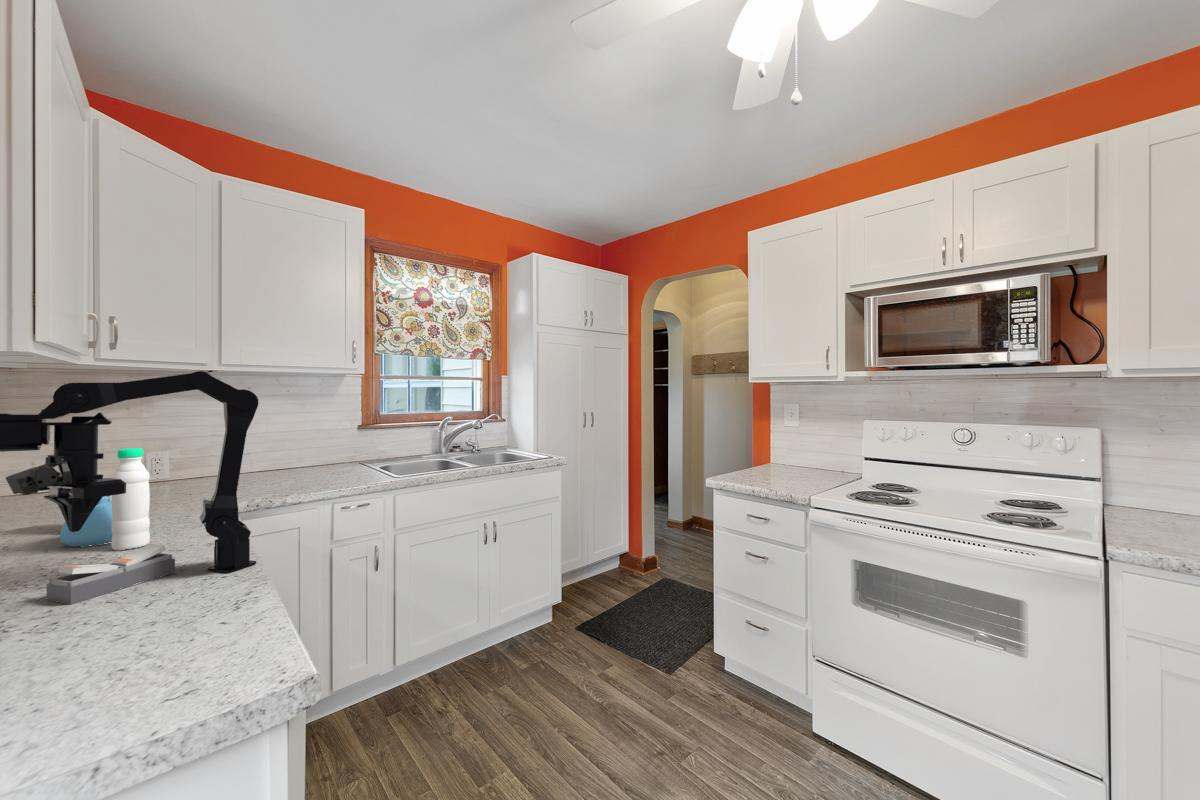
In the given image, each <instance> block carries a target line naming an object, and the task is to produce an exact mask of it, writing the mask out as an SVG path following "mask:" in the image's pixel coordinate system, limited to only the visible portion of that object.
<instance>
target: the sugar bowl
mask: <svg viewBox="0 0 1200 800" xmlns="http://www.w3.org/2000/svg"><path fill="white" fill-rule="evenodd" d="M108 500H109V497H108V496H103V497H102V498H101V500H100V501H99V503H98V504H97V505H96V507H95V508H94V509H93V511H92V512H91V514H90V515H89V517H88V518H87V520H86V522H85V523H84V525H83V526H82V528H81V529H80V531H77V532H70V531H69V529H68V526H67V524H66V522H64V524H63V526H62V527H61V528H60V534H59V540H60V541H61V542H62V543H63V544H64V545H65V546H67V545H68V546H67V547H69V546H89V545H98V544H104V543H109V542H112V535H113V534H112V521H113V518H112V504H111V501H108ZM98 546H99V545H98ZM89 547H90V546H89Z"/></svg>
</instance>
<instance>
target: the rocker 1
mask: <svg viewBox="0 0 1200 800" xmlns="http://www.w3.org/2000/svg"><path fill="white" fill-rule="evenodd" d="M110 564H111V563H98V564H80V565H71V564H70V565H61V566H59V568H58V571H57V572H58V573H61V574H66V575H69V574H82V573H96V572H107V571H111V570H114V569H118V566H117V565H110Z"/></svg>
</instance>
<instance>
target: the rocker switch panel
mask: <svg viewBox="0 0 1200 800" xmlns="http://www.w3.org/2000/svg"><path fill="white" fill-rule="evenodd" d="M109 564H110V565H113V562H111V563H109ZM174 572H175V573H176V558H173V554H170V553H163V552H160V553H158V554H156V555H154V556H152V557H150V558H148V559H145V560H143V561H141V562H139V563H137V564H133V565H129V566H125V567H122V566H118V569H114V570H111V571H107V572H96V573H82V574H66V575H61V576H57V577H55V578H54V577H53V578H51V579H50V580H49V583H47V584H46V601H50V602H51V601H52V602H56V603H62V604H66V605H73V604H77V603H81V602H83V601H84V602H85V601H86V600H90V598H91V599H94V598H97V597H100V596H103V595H102V594H104V595H106V593H107V594H110V593H113V592H112V591H114V592H116V591H115V590H117V589H120V588H123V587H127V586H130V585H133V584H136V583H139V582H143V581H146V582H148V581H147V580H150V581H152V580H151V579H153V580H155V579H154V578H156V579H158V578H157V577H159V578H161V577H160V576H163V577H165V576H164V575H166V576H168V575H167V574H169V575H172V574H171V573H173V574H175V573H174ZM143 583H144V582H143ZM136 585H137V584H136ZM133 586H134V585H133ZM130 587H131V586H130ZM127 588H128V587H127ZM123 589H124V588H123ZM120 590H121V589H120ZM117 591H118V590H117ZM109 592H110V593H109ZM99 595H100V596H99ZM96 596H97V597H96ZM93 597H94V598H93Z"/></svg>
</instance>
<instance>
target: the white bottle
mask: <svg viewBox="0 0 1200 800" xmlns="http://www.w3.org/2000/svg"><path fill="white" fill-rule="evenodd" d="M144 453H145V452H144V449H143V448H141V447H127V448H120V449H118V450H117V458H118V461H120V462H119V464H118V465H117V466H116V469H115V471H114V472H113V474H112V476H111V478H112V479H121V480H122V481H124V482H125V483H126V493H125V494H118V495H112V498H111V504H112V518H113V521H112V534H113V535H112V543H111V549H112V550H114V551H126V550H125V549H131V550H133V549H132V548H136V549H138V548H137V547H141V546H144V547H146V546H148V545H150V543H151V534H150V526H151V525H150V524H151V520H150V503H151V502H150V500H151V499H150V498H151V494H150V491H151V490H150V481H149V480H150V477H151V476H150V475H151V474H150V473H149V471H148V470H147V469H146V467H145V465H144V464H143V463H142V459H143V458H144ZM147 544H148V545H147ZM145 545H146V546H145ZM141 548H142V547H141Z"/></svg>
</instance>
